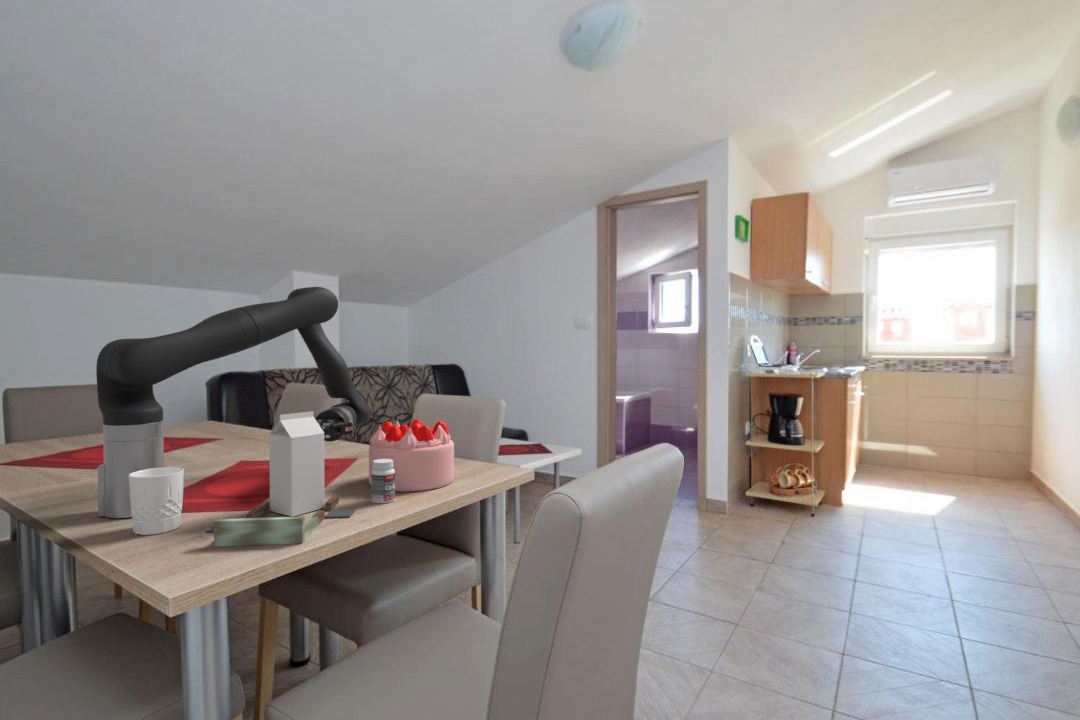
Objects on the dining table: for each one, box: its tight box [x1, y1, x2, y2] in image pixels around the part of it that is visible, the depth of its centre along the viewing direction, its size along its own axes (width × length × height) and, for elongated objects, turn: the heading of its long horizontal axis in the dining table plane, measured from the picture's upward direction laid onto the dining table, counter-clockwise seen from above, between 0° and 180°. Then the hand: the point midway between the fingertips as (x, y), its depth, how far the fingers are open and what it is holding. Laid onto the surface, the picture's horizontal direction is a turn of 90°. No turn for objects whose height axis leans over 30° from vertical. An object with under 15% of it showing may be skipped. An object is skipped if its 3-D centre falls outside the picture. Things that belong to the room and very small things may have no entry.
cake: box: [368, 418, 455, 493], centre depth 129 cm, size 20×20×14 cm
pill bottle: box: [370, 459, 396, 504], centre depth 112 cm, size 5×5×8 cm
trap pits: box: [205, 507, 356, 534], centre depth 99 cm, size 25×6×1 cm, turn 115°
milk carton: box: [268, 410, 325, 517], centre depth 105 cm, size 7×7×19 cm
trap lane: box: [213, 494, 340, 547], centre depth 98 cm, size 13×24×4 cm, turn 7°
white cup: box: [129, 466, 185, 536], centre depth 94 cm, size 8×8×10 cm
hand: (313, 435), depth 115 cm, fingers closed
